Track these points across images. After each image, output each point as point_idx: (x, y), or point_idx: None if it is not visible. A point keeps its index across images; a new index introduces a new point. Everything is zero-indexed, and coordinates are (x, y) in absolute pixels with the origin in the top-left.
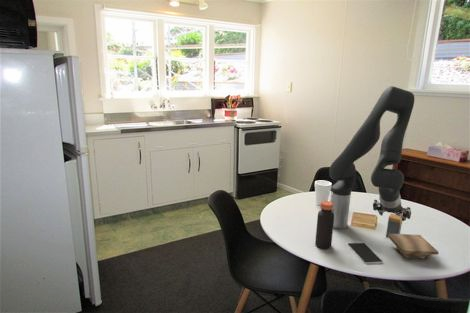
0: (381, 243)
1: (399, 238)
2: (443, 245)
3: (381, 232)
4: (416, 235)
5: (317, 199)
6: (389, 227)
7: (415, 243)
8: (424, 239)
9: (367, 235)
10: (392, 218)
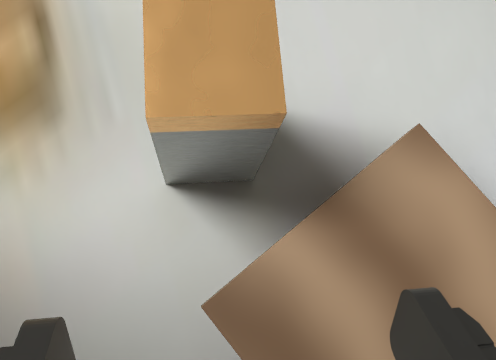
0: (169, 333)
1: (317, 332)
2: (492, 55)
3: (118, 134)
4: (404, 155)
5: None
6: (178, 158)
7: None
8: (473, 188)
9: (32, 272)
10: (191, 118)
